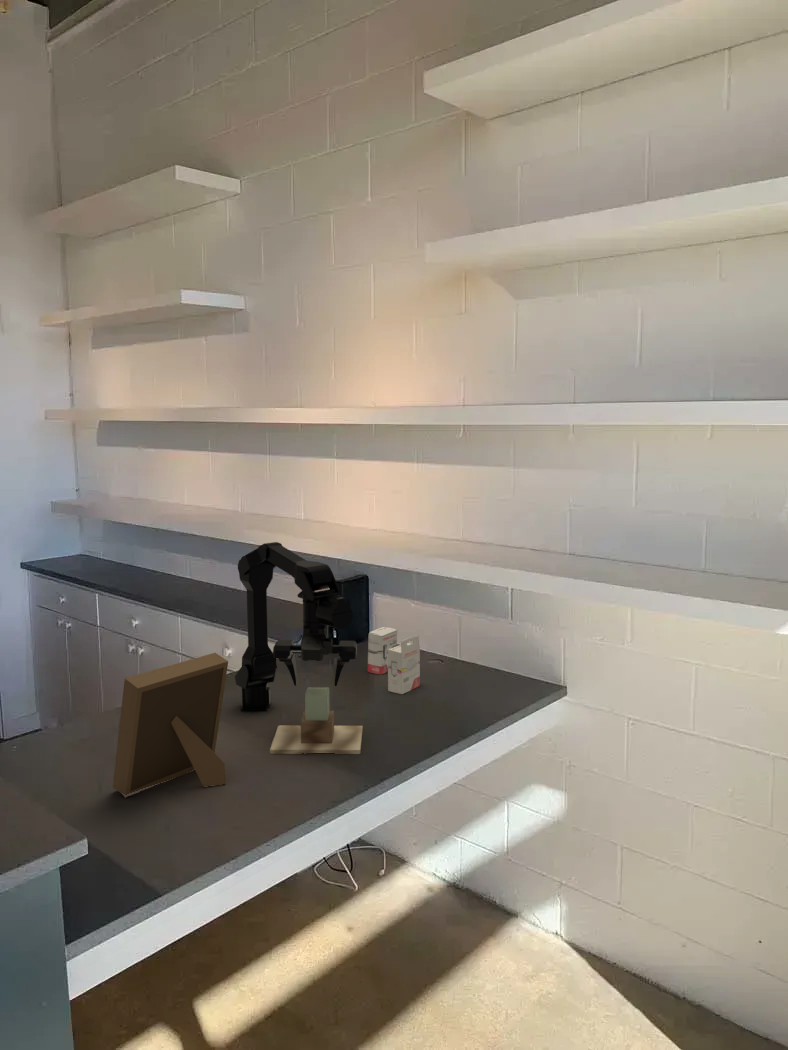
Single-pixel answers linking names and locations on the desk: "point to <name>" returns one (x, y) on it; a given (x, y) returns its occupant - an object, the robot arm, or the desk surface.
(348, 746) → the base plate
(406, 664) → the ink cartridge box
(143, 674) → the photo frame
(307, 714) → the sage block
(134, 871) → the desk surface
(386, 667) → the ink box
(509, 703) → the desk surface
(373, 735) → the desk surface
